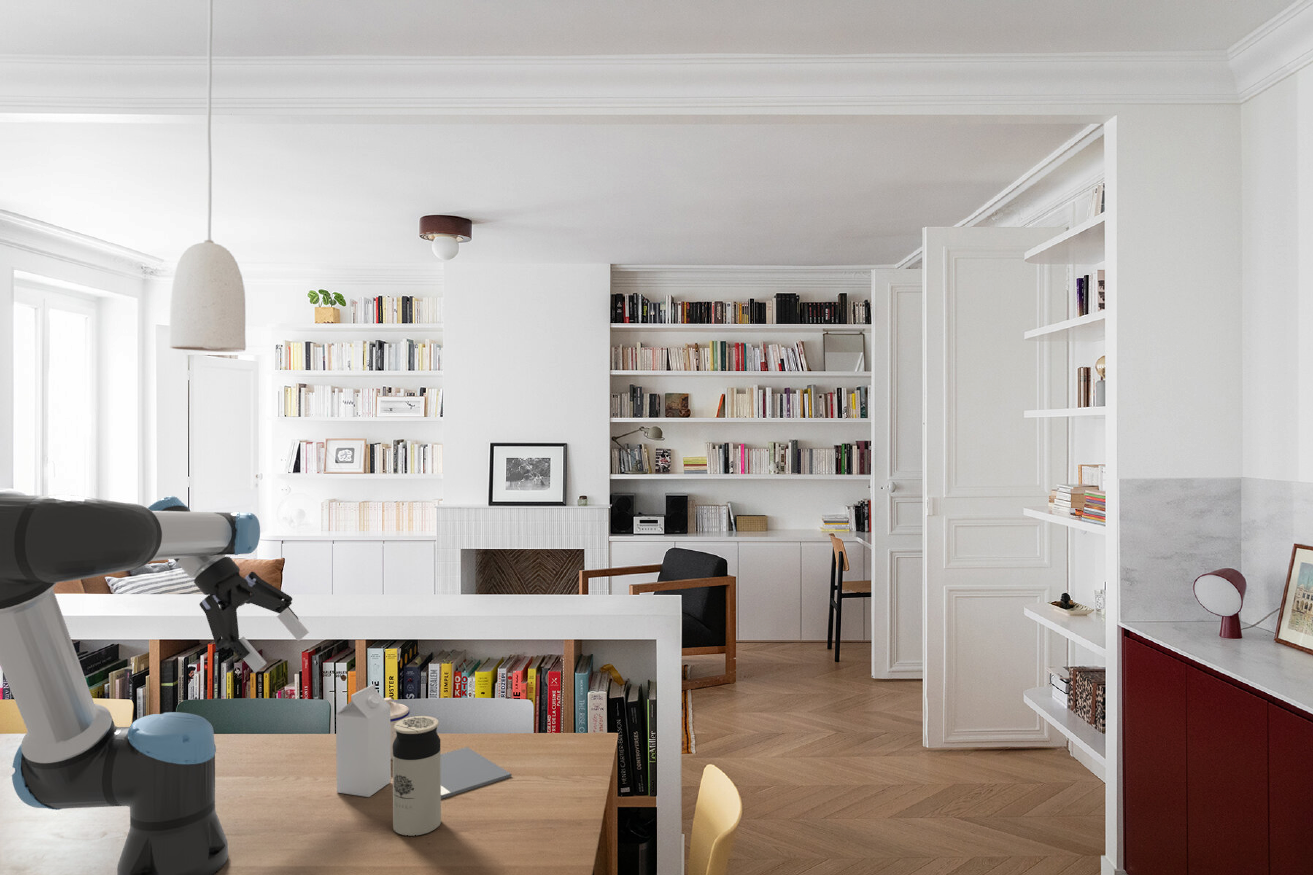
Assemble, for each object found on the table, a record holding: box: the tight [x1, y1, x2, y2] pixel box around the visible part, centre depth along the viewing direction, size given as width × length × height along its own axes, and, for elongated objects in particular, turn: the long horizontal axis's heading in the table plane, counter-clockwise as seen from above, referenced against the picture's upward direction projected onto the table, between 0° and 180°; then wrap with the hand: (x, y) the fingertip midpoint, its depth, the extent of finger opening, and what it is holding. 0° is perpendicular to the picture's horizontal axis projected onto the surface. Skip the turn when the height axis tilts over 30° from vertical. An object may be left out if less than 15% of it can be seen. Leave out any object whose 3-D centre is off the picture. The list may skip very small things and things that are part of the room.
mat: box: [441, 746, 512, 800], centre depth 169 cm, size 18×16×1 cm
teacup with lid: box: [383, 697, 411, 761], centre depth 178 cm, size 12×9×12 cm
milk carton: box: [335, 683, 392, 798], centre depth 162 cm, size 7×7×19 cm
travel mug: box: [392, 715, 442, 837], centre depth 147 cm, size 8×8×18 cm
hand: (283, 651), depth 163 cm, fingers open, 13 cm apart
